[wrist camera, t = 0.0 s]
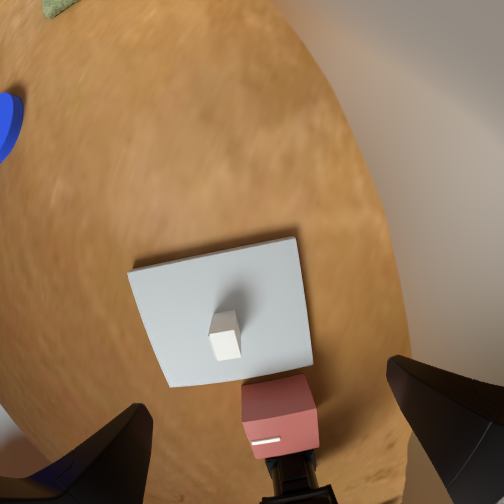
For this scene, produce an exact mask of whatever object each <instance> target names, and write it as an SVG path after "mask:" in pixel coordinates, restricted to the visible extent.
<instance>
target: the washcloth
mask: <svg viewBox="0 0 504 504" xmlns="http://www.w3.org/2000/svg"><path fill="white" fill-rule="evenodd" d="M77 1H80V0H43V1H42V3H43V6H42V8H43V14H44V15H46V16H45V17H46V18H47V19H49V18H50V19H52V18H53V17H55V16H56V15H57V14H59V13H60V12H61V11H63V10H64V9H66V8H67V7H69V6H71V5H72V4H73V3H76V2H77Z"/></svg>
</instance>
